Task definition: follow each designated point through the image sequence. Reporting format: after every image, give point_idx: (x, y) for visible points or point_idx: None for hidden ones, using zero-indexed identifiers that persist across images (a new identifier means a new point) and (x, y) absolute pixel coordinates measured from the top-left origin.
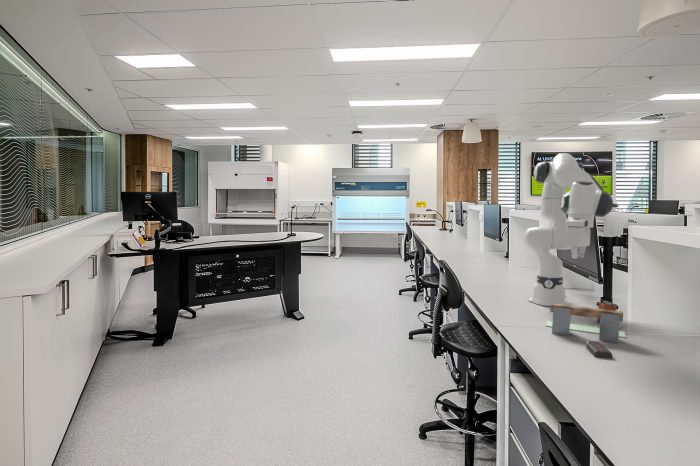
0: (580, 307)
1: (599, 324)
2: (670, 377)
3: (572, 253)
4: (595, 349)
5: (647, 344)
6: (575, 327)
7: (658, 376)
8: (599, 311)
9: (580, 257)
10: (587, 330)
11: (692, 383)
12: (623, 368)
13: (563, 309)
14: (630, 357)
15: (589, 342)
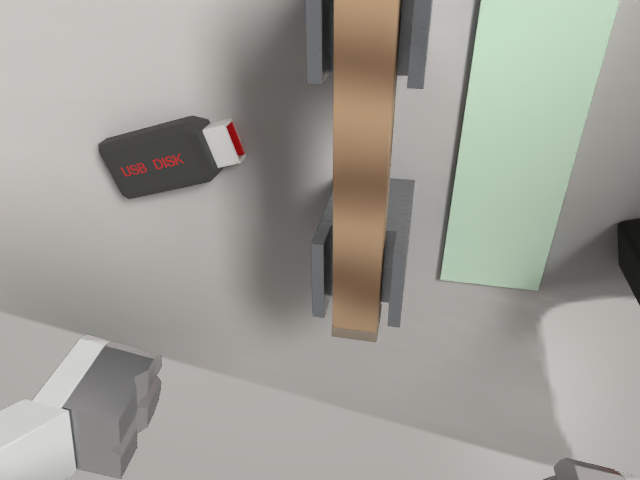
0: (359, 149)
1: (409, 208)
2: (90, 302)
3: (26, 409)
4: (112, 149)
5: (384, 325)
6: (520, 80)
7: (74, 279)
8: (334, 242)
9: (553, 476)
10: (480, 139)
11: (86, 333)
12: (65, 209)
13: (308, 33)
14: (189, 246)
15: (186, 135)
